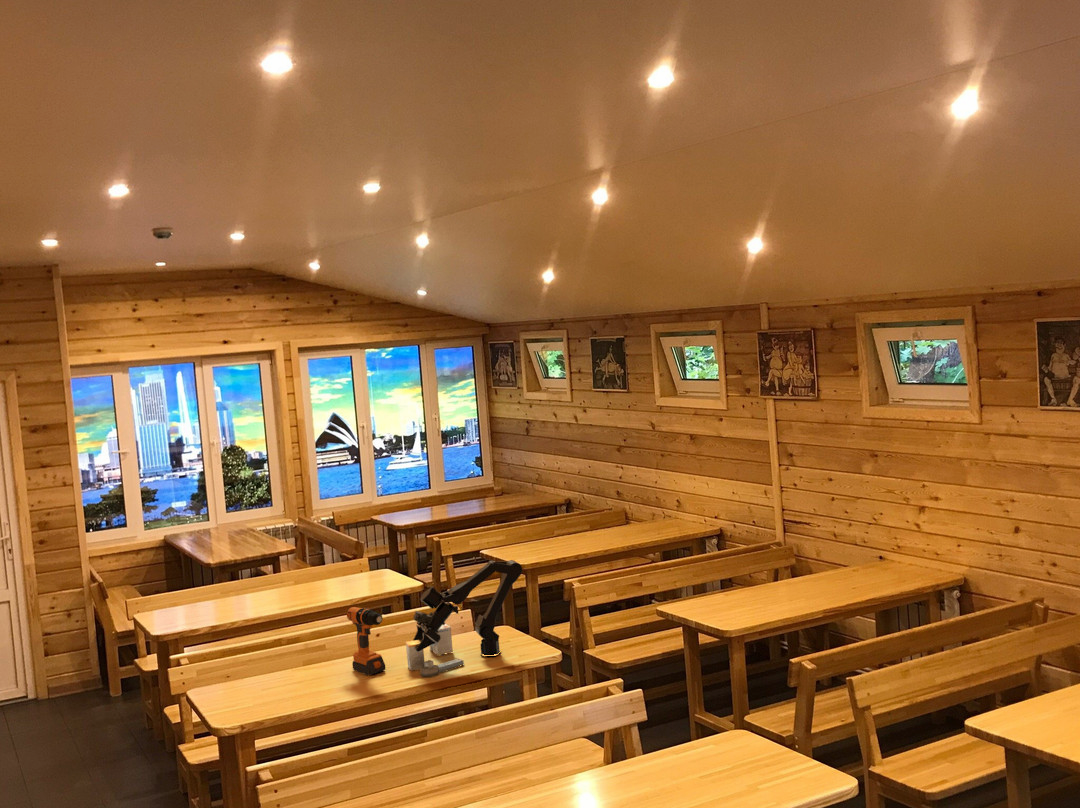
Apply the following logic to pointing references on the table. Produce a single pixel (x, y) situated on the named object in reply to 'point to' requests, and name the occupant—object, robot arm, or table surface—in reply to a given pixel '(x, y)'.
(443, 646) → the light bulb box
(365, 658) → the power drill
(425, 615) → the robot arm
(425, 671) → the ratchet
